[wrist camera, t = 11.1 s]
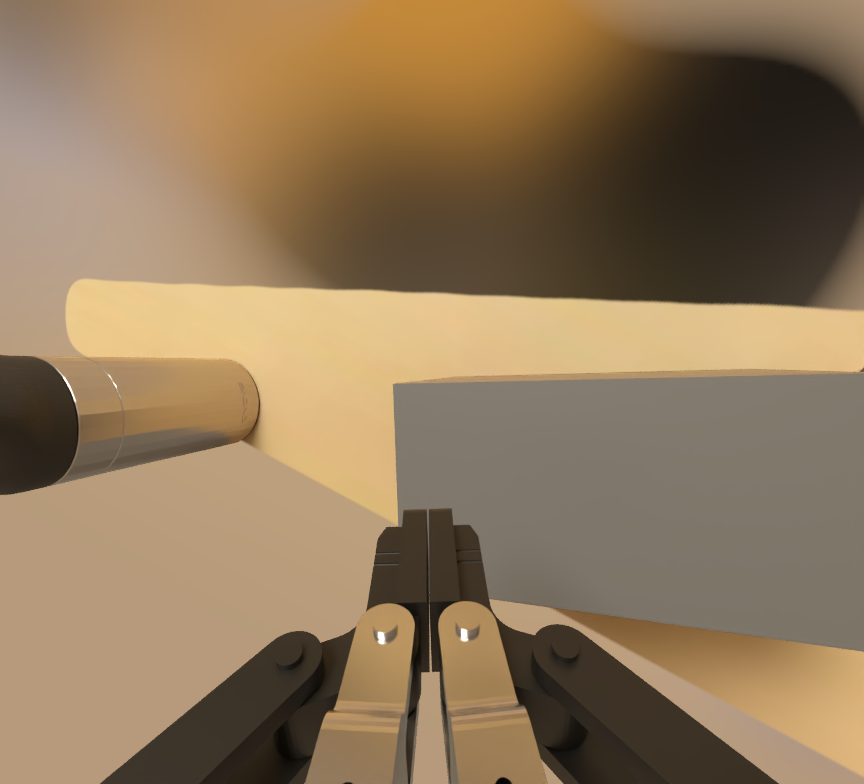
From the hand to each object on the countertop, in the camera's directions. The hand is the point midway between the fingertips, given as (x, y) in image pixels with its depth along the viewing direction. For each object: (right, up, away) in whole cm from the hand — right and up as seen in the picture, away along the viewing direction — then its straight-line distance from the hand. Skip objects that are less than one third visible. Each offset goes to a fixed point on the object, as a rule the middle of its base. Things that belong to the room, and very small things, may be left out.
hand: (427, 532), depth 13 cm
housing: (+13, 0, +21) cm, 25 cm away
